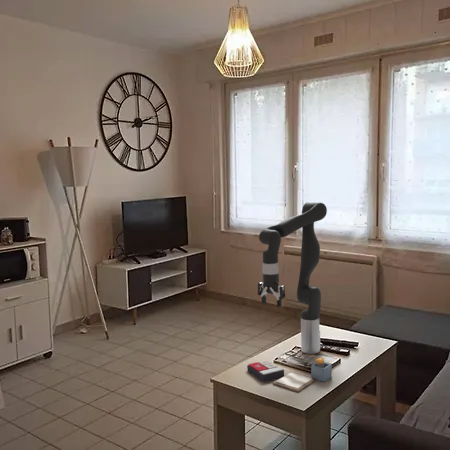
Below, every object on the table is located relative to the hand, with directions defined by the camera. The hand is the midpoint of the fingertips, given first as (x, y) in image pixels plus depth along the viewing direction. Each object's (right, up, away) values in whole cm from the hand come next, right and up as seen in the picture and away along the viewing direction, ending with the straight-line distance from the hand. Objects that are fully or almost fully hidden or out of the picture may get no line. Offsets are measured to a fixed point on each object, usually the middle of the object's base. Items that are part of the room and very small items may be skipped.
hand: (271, 305), depth 235 cm
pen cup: (+21, -29, -15) cm, 39 cm away
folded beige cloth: (+8, -30, -19) cm, 37 cm away
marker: (+20, -29, -15) cm, 38 cm away
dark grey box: (-3, -30, -9) cm, 32 cm away
